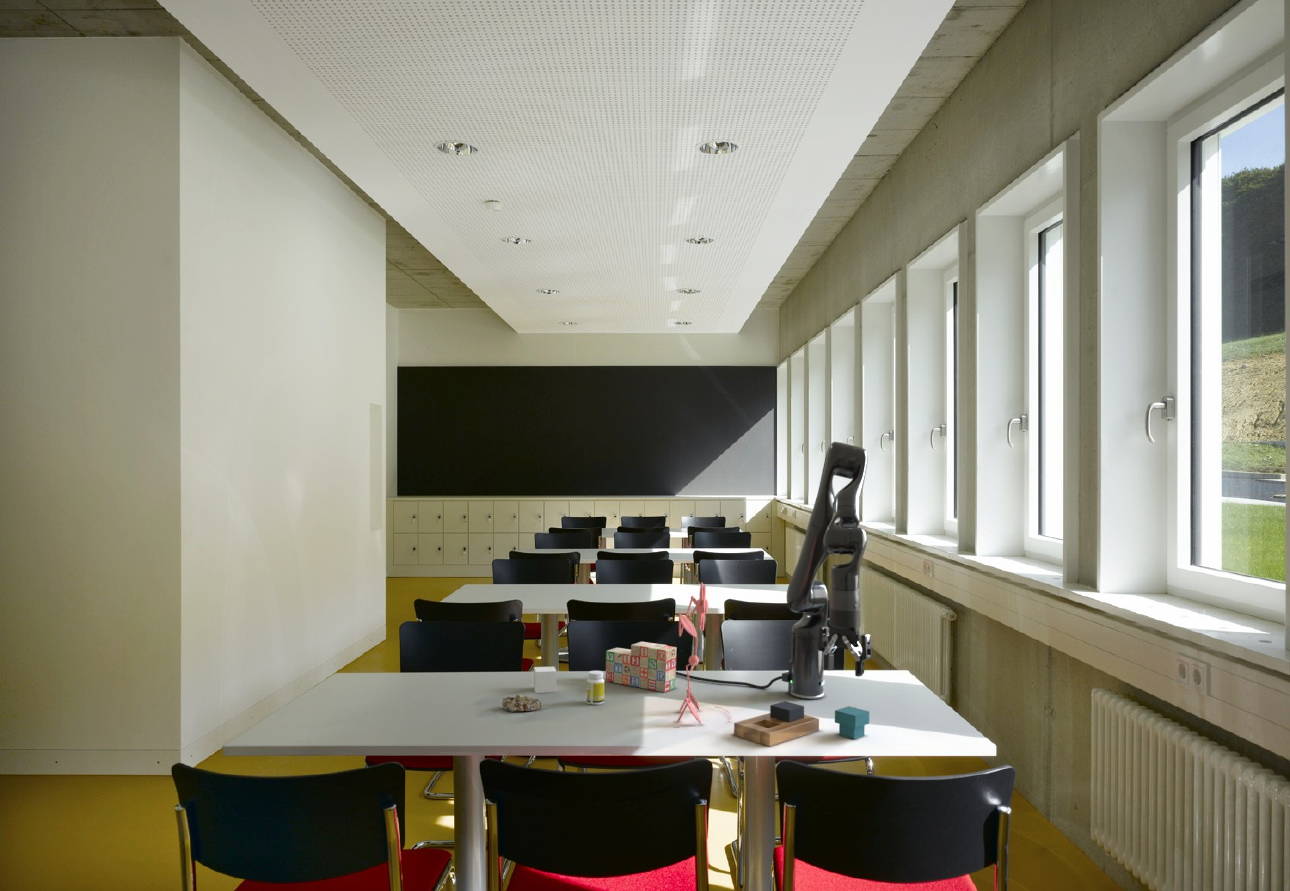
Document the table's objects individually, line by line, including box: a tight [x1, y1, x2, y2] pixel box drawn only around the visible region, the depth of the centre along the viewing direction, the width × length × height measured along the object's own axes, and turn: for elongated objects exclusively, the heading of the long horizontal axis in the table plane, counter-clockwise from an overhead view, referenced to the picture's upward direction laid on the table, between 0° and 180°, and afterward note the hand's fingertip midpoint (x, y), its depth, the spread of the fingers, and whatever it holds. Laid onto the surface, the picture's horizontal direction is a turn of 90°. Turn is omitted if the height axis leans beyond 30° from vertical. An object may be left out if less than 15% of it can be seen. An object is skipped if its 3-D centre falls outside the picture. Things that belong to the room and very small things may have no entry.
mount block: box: [733, 712, 820, 747], centre depth 214 cm, size 11×19×3 cm, turn 133°
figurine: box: [674, 582, 732, 729], centre depth 226 cm, size 15×26×35 cm, turn 175°
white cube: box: [533, 666, 558, 694], centre depth 251 cm, size 6×6×6 cm
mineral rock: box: [501, 693, 542, 713], centre depth 231 cm, size 11×4×8 cm
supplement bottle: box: [586, 670, 605, 706], centre depth 238 cm, size 5×5×8 cm
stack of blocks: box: [605, 641, 677, 693], centre depth 259 cm, size 21×6×12 cm, turn 58°
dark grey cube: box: [769, 700, 805, 723], centre depth 217 cm, size 6×6×6 cm
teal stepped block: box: [834, 705, 870, 740], centre depth 213 cm, size 6×6×6 cm
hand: (844, 672), depth 214 cm, fingers open, 8 cm apart
